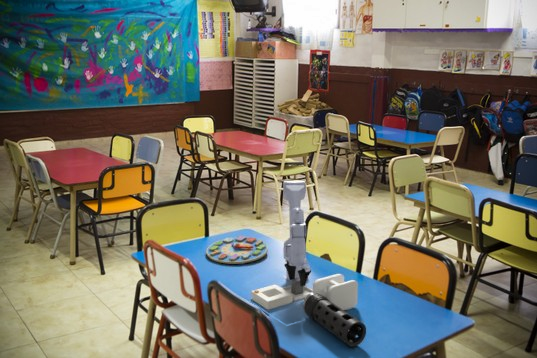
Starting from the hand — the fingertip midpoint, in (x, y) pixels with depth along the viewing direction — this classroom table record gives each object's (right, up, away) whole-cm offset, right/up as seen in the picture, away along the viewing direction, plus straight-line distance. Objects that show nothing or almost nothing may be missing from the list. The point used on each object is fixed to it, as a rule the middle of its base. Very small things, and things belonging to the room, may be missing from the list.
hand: (297, 282), depth 241 cm
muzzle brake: (+11, -13, -30) cm, 35 cm away
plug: (0, -4, +1) cm, 5 cm away
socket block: (-11, -7, -6) cm, 14 cm away
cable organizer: (+14, -8, -10) cm, 19 cm away
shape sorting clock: (-28, +5, +48) cm, 56 cm away
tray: (0, -5, +1) cm, 5 cm away
